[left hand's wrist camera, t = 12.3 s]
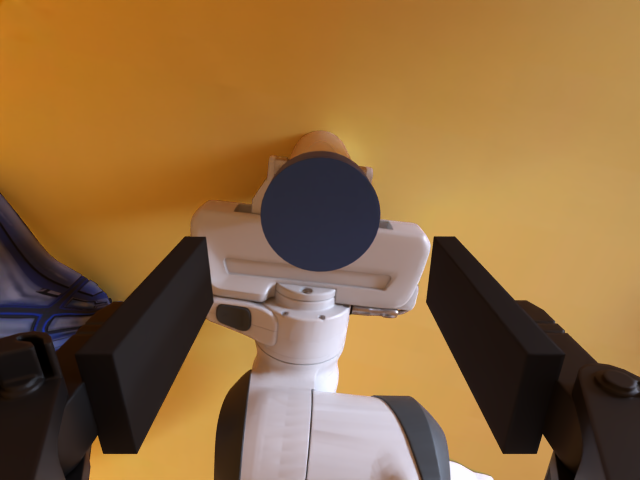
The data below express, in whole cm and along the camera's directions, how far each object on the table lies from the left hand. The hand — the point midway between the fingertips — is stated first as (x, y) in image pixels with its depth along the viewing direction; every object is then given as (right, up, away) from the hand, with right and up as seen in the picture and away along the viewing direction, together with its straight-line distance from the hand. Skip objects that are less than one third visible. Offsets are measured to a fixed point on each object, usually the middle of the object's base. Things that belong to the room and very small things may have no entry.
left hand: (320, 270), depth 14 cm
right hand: (0, +7, +17) cm, 18 cm away
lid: (0, +2, +6) cm, 7 cm away
